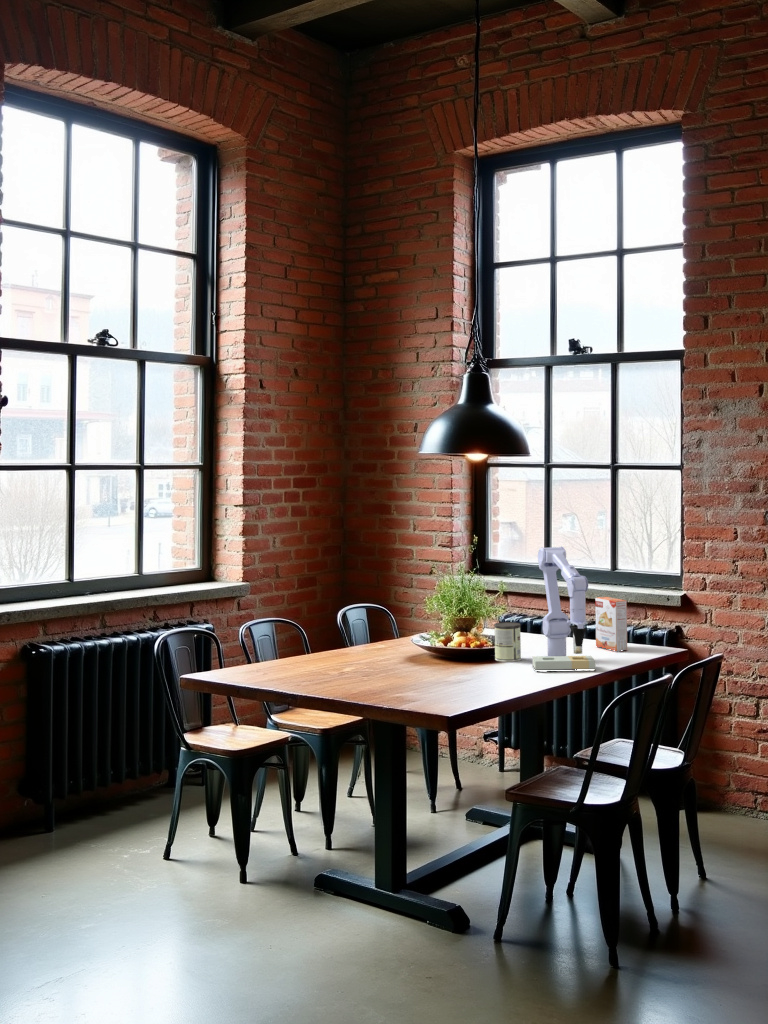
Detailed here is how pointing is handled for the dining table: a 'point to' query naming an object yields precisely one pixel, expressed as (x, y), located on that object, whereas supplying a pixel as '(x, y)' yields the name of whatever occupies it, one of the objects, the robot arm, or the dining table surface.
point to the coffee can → (507, 642)
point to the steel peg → (576, 647)
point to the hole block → (563, 662)
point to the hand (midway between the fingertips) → (578, 645)
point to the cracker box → (611, 623)
